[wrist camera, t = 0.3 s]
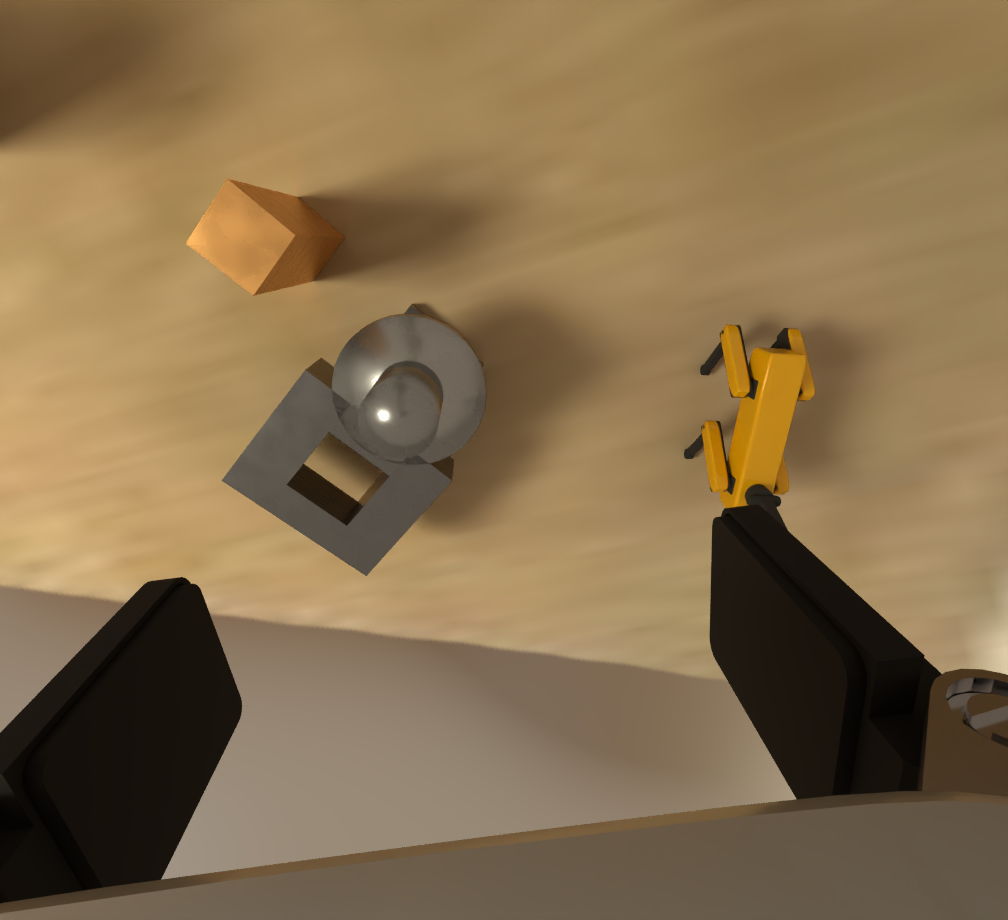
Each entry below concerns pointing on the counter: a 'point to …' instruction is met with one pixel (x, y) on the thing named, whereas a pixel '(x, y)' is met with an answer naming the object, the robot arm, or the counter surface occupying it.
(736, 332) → the robot dog
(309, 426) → the block with square hole
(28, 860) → the robot arm
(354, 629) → the counter surface
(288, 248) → the wooden block
